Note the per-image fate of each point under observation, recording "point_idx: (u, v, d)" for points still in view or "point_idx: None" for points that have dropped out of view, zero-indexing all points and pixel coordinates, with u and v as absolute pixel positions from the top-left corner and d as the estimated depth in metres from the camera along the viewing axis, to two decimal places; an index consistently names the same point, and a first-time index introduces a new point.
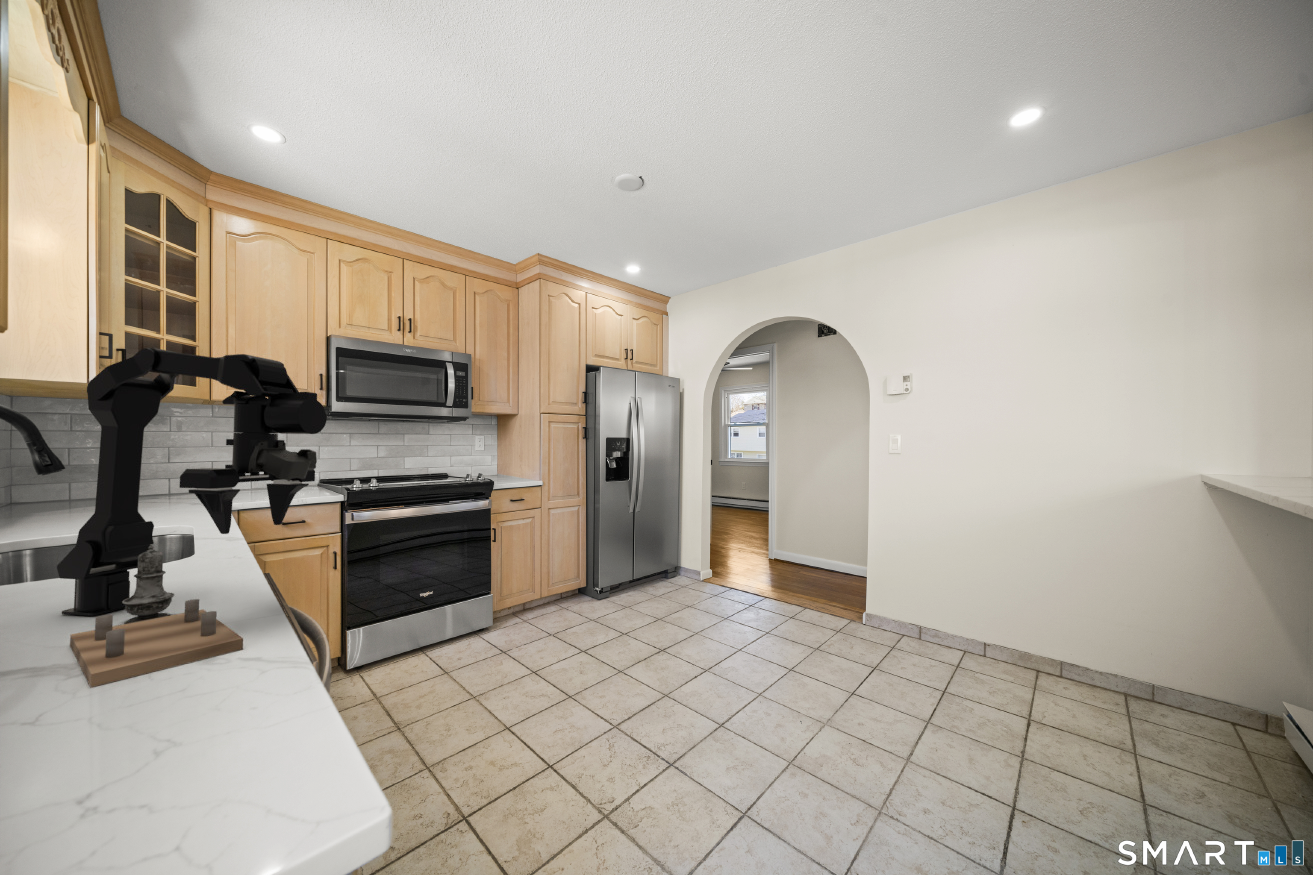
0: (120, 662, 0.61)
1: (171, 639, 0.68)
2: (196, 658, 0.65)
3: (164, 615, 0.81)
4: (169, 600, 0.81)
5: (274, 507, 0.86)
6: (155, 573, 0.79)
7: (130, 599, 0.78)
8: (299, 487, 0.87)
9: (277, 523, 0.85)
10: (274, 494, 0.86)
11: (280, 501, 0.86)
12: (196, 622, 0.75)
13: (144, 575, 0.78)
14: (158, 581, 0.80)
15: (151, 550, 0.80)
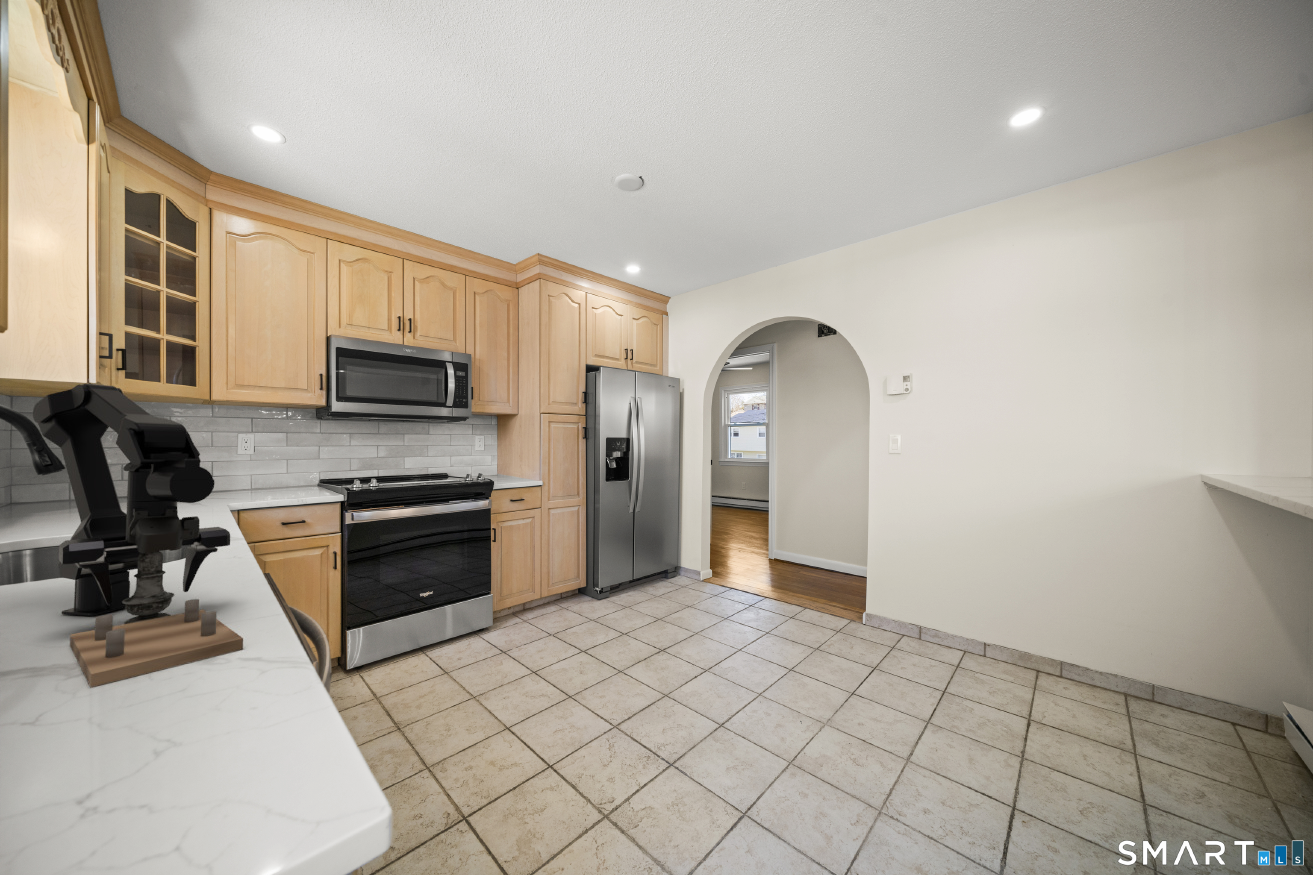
0: (120, 662, 0.61)
1: (171, 639, 0.68)
2: (196, 658, 0.65)
3: (164, 615, 0.81)
4: (169, 600, 0.81)
5: (185, 573, 0.84)
6: (155, 573, 0.79)
7: (130, 599, 0.78)
8: (204, 554, 0.83)
9: (184, 590, 0.83)
10: (187, 559, 0.84)
11: (188, 567, 0.83)
12: (196, 622, 0.75)
13: (144, 575, 0.78)
14: (158, 581, 0.80)
15: None
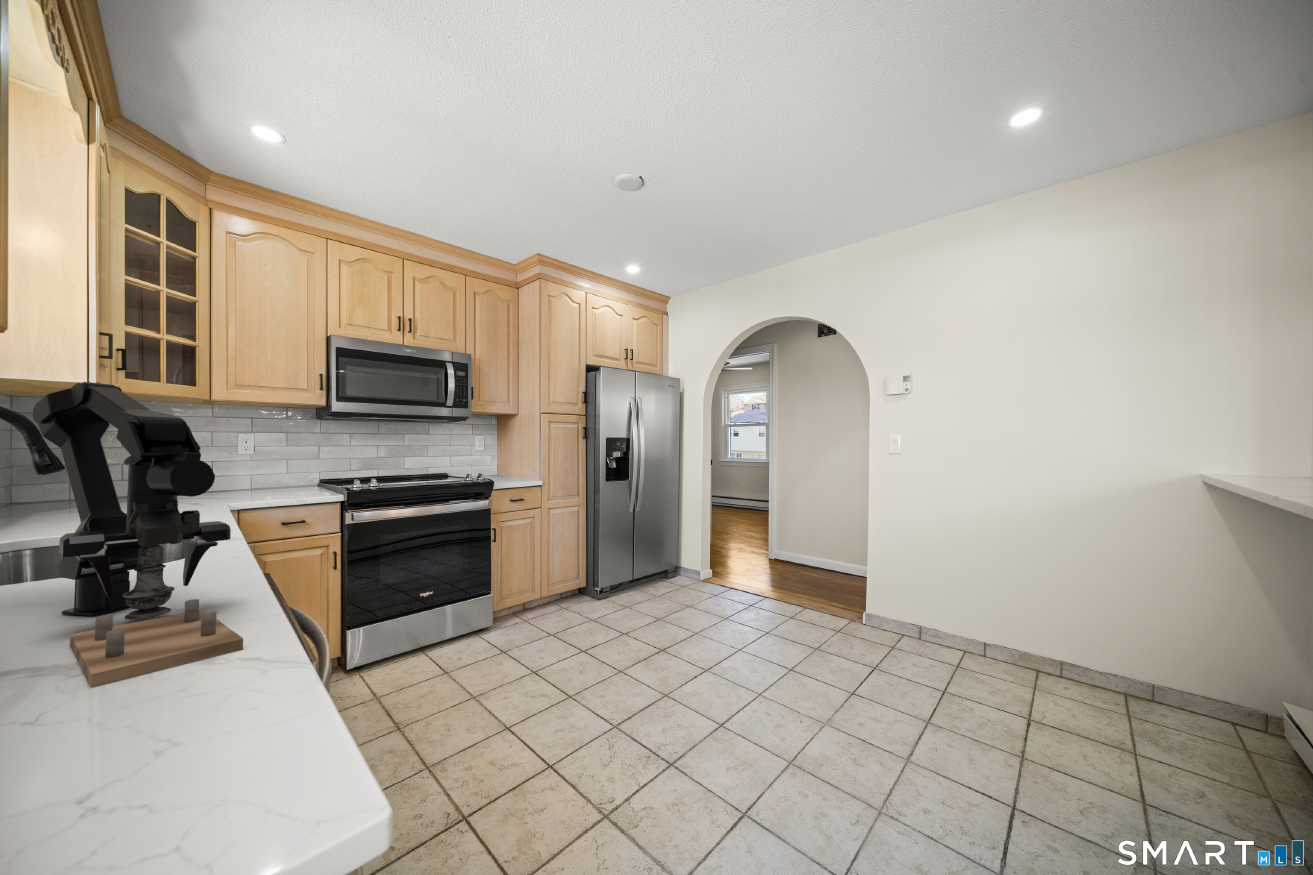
0: (120, 662, 0.61)
1: (171, 639, 0.68)
2: (196, 658, 0.65)
3: (165, 609, 0.81)
4: (170, 593, 0.81)
5: (185, 567, 0.84)
6: (156, 566, 0.79)
7: (131, 593, 0.78)
8: (204, 548, 0.83)
9: (184, 584, 0.83)
10: (187, 553, 0.84)
11: (188, 561, 0.83)
12: (196, 622, 0.75)
13: (146, 568, 0.78)
14: (159, 575, 0.80)
15: None
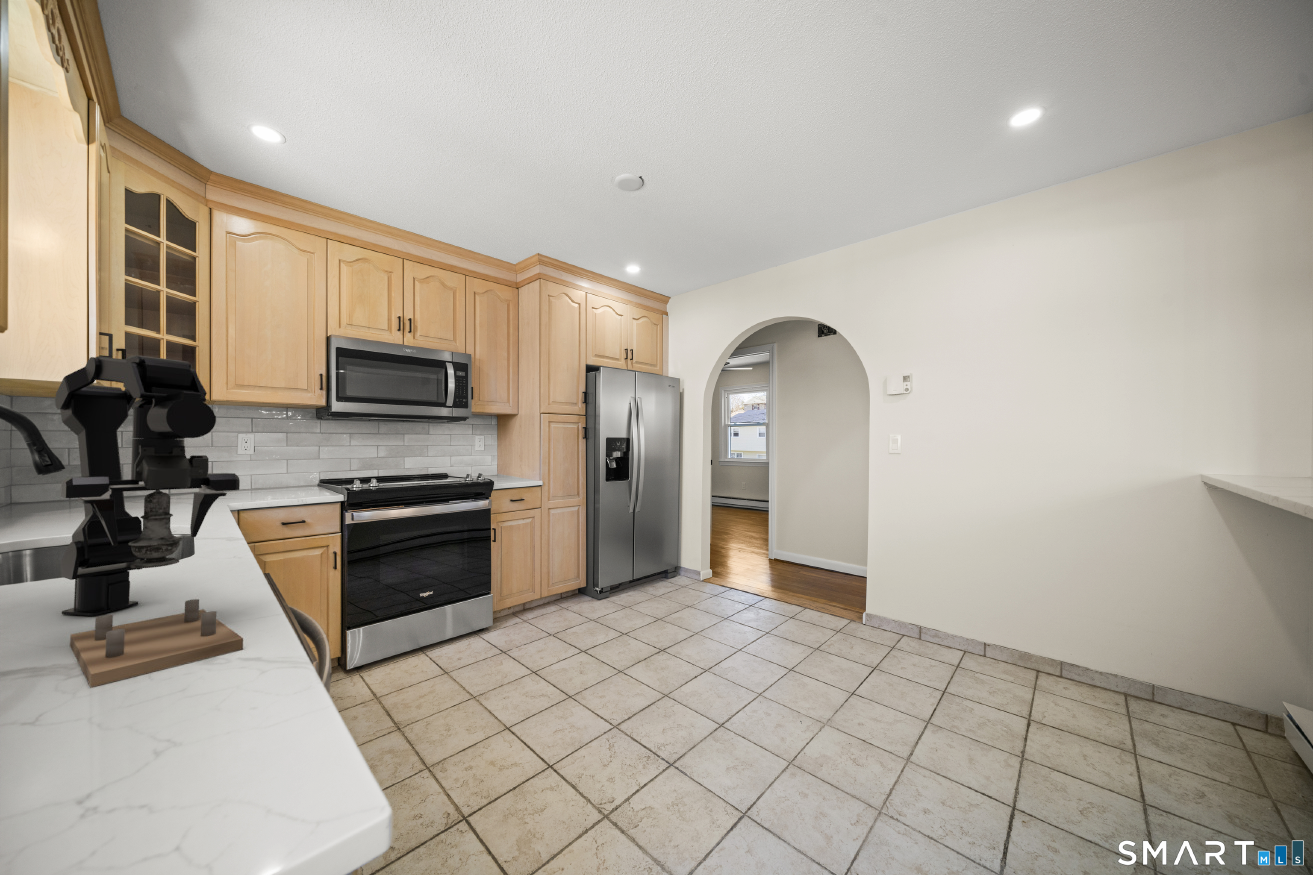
0: (120, 662, 0.61)
1: (171, 639, 0.68)
2: (196, 658, 0.65)
3: (172, 559, 0.77)
4: (178, 543, 0.78)
5: (192, 518, 0.80)
6: (163, 514, 0.76)
7: (137, 541, 0.74)
8: (212, 497, 0.80)
9: (192, 535, 0.80)
10: (194, 504, 0.81)
11: (195, 512, 0.80)
12: (196, 622, 0.75)
13: (152, 516, 0.75)
14: (166, 523, 0.77)
15: (158, 491, 0.76)
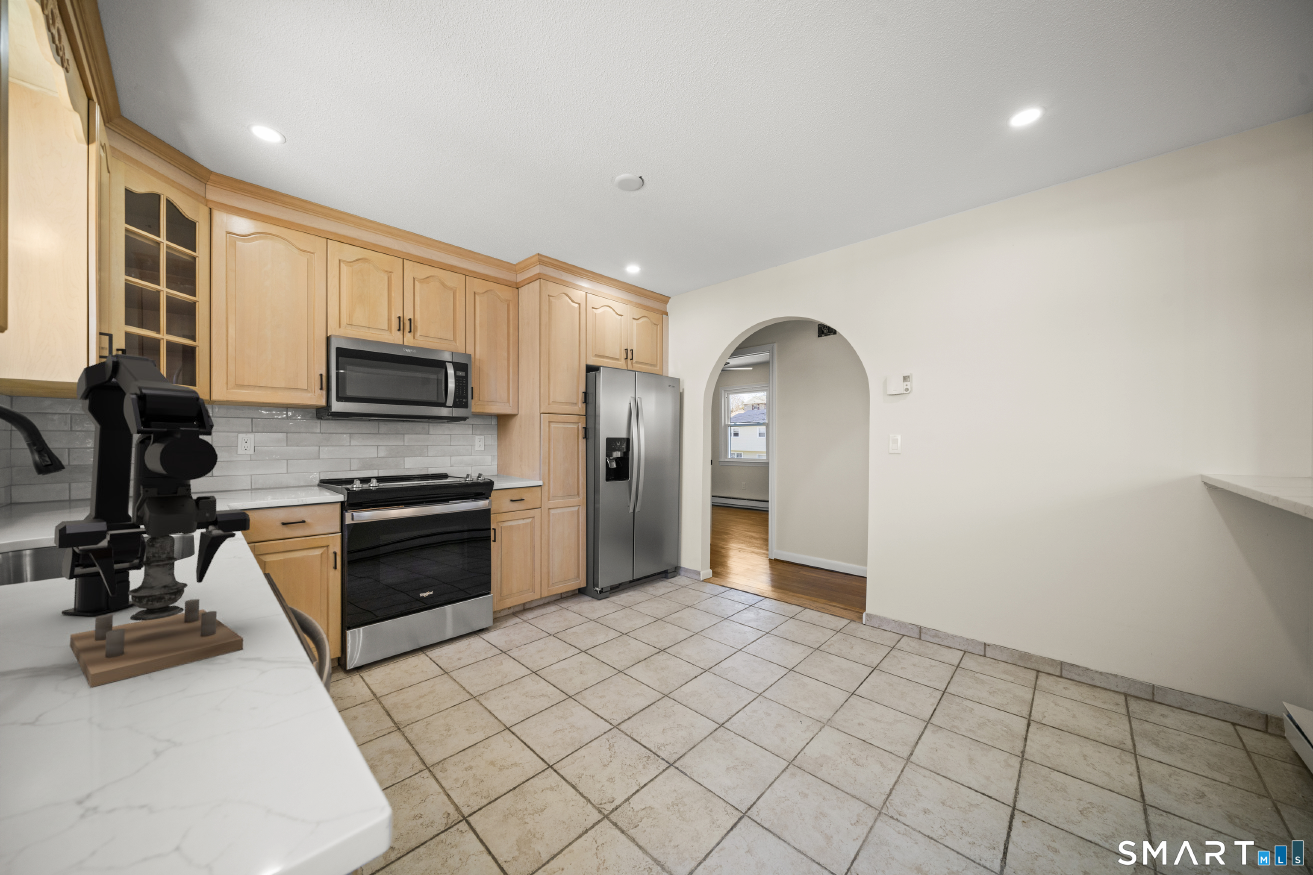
0: (120, 662, 0.61)
1: (171, 639, 0.68)
2: (196, 658, 0.65)
3: (176, 608, 0.70)
4: (182, 591, 0.71)
5: (198, 561, 0.73)
6: (166, 560, 0.69)
7: (138, 590, 0.67)
8: (220, 539, 0.73)
9: (197, 580, 0.73)
10: (201, 545, 0.74)
11: (202, 555, 0.73)
12: (196, 622, 0.75)
13: (154, 562, 0.68)
14: (170, 569, 0.70)
15: None
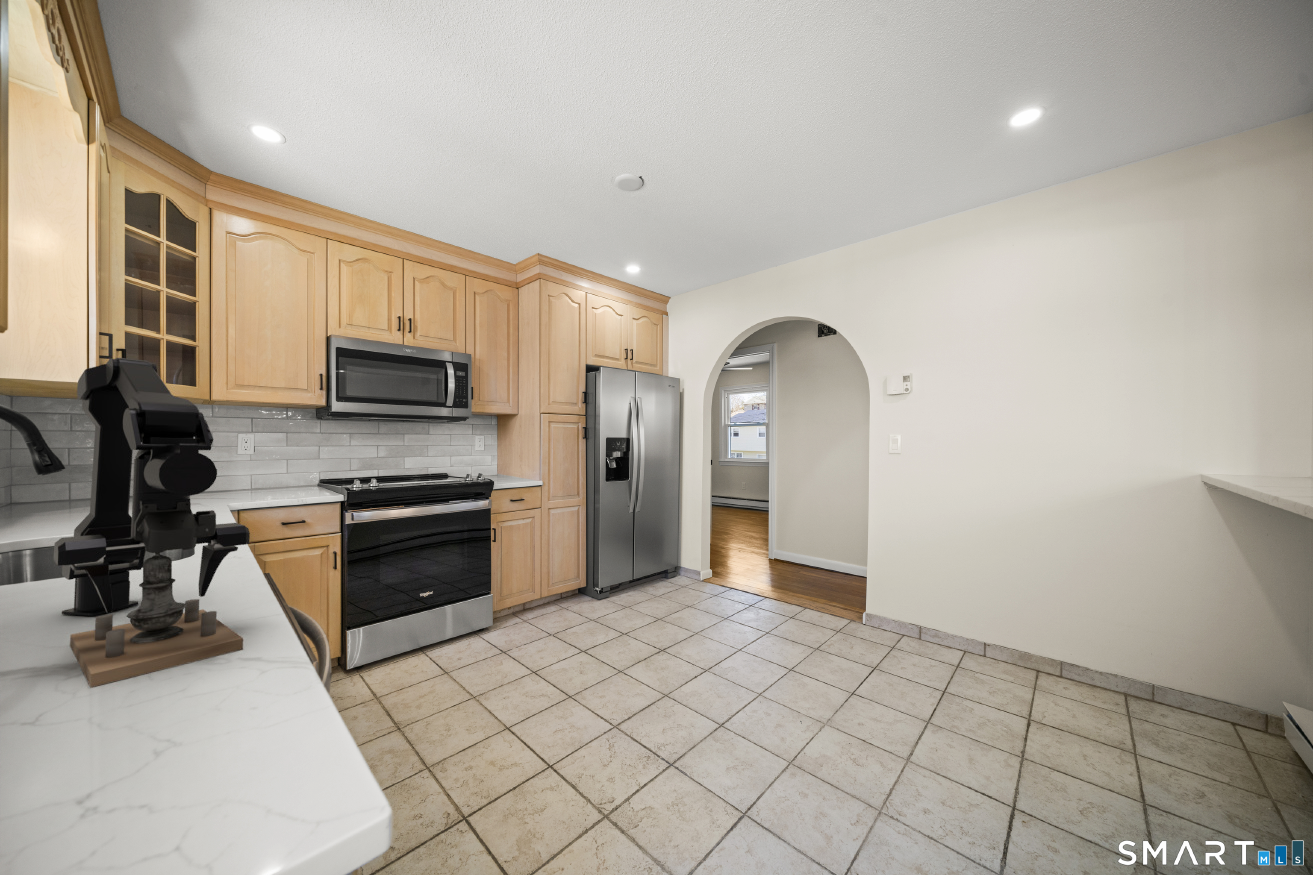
0: (120, 662, 0.61)
1: (171, 639, 0.68)
2: (196, 658, 0.65)
3: (155, 636, 0.68)
4: (150, 620, 0.67)
5: (201, 575, 0.74)
6: (145, 583, 0.68)
7: None
8: (222, 553, 0.73)
9: (200, 594, 0.73)
10: (203, 559, 0.74)
11: (204, 569, 0.73)
12: (196, 622, 0.75)
13: (141, 583, 0.68)
14: (148, 594, 0.68)
15: (154, 555, 0.69)
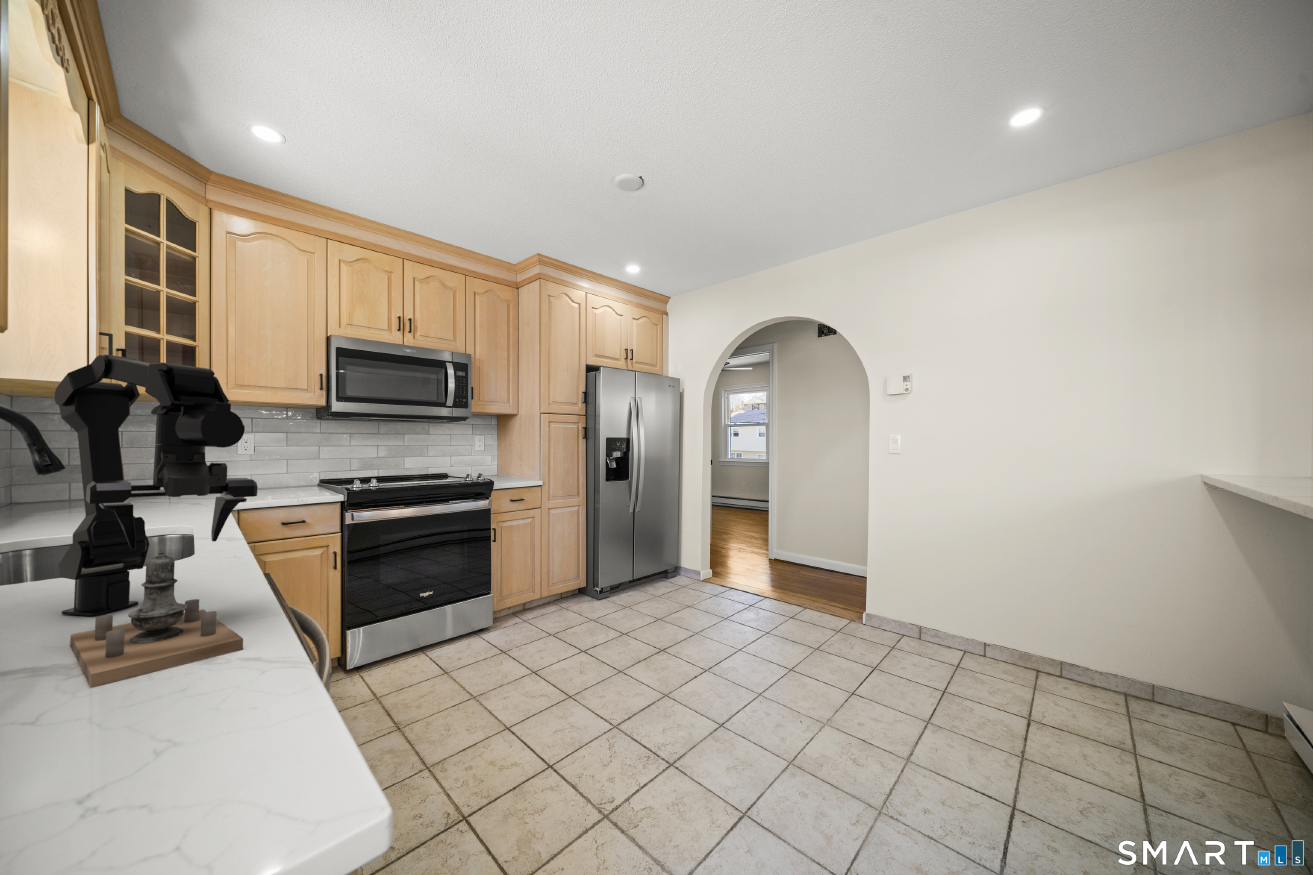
0: (120, 662, 0.61)
1: (171, 639, 0.68)
2: (196, 658, 0.65)
3: (155, 636, 0.68)
4: (151, 620, 0.67)
5: (213, 522, 0.82)
6: (147, 583, 0.68)
7: None
8: (233, 503, 0.81)
9: (212, 539, 0.81)
10: (216, 509, 0.82)
11: (216, 516, 0.81)
12: (196, 622, 0.75)
13: None
14: (150, 594, 0.68)
15: (157, 555, 0.69)
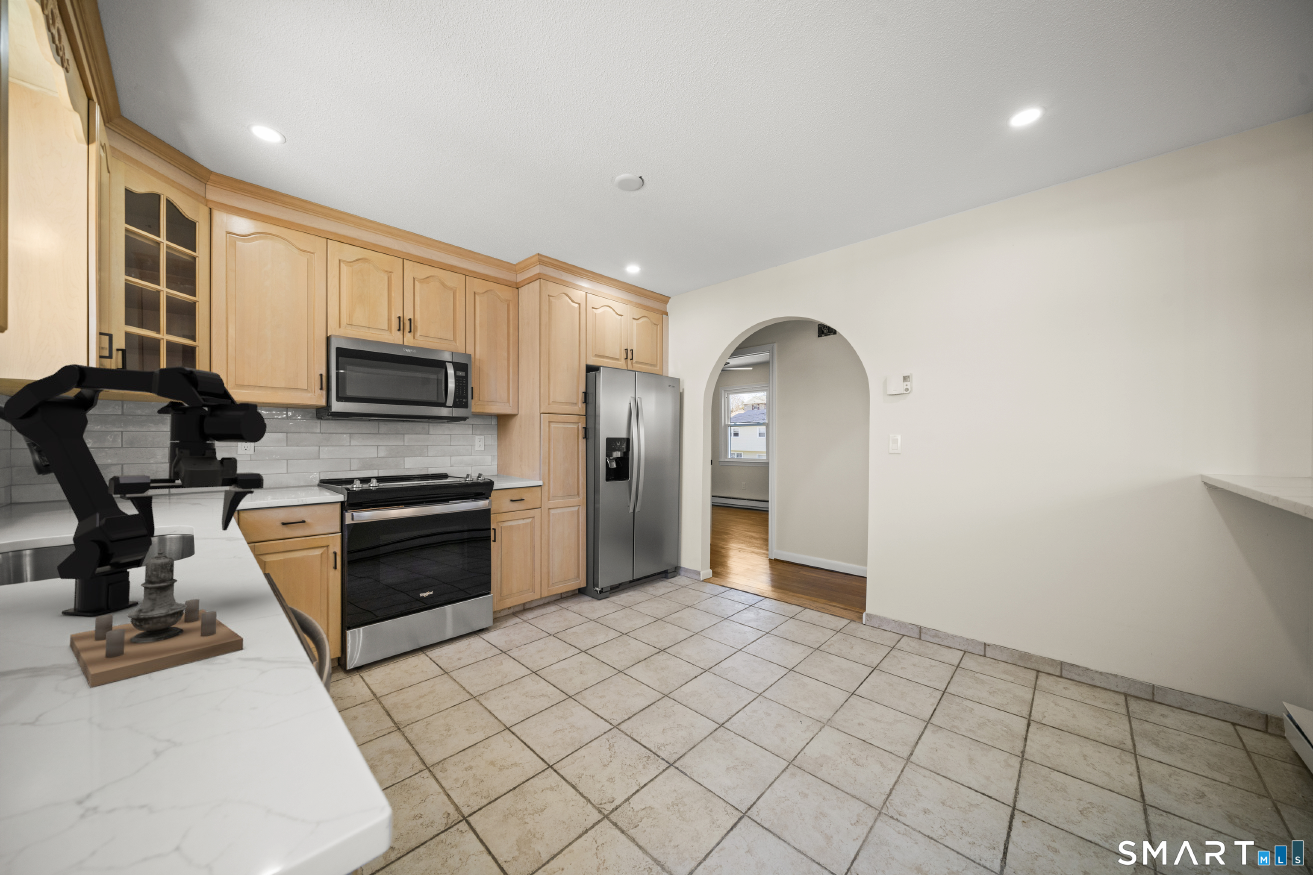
0: (120, 662, 0.61)
1: (171, 639, 0.68)
2: (196, 658, 0.65)
3: (155, 636, 0.68)
4: (151, 620, 0.67)
5: (223, 513, 0.89)
6: (147, 583, 0.68)
7: None
8: (242, 495, 0.89)
9: (223, 528, 0.88)
10: (225, 500, 0.90)
11: (226, 507, 0.89)
12: (196, 622, 0.75)
13: (143, 583, 0.69)
14: (150, 594, 0.68)
15: (156, 556, 0.69)
